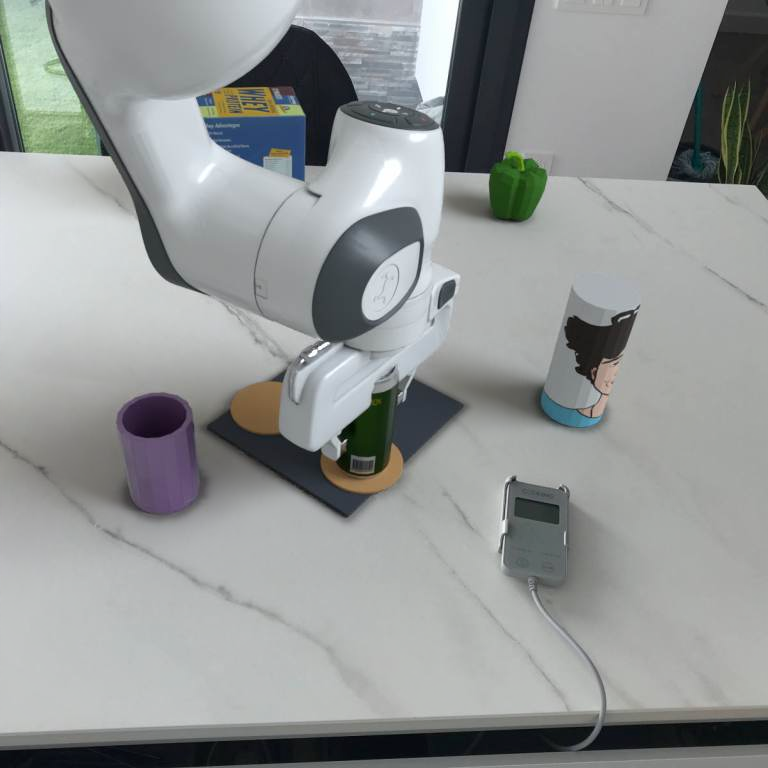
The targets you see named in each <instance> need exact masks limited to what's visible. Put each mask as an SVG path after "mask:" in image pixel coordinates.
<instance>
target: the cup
mask: <svg viewBox="0 0 768 768" xmlns="http://www.w3.org/2000/svg"><path fill="white" fill-rule="evenodd" d="M643 298H644V297H643V293H642V291H641V290H640V288H638V287H637V285H635V283H634V282H631V281H630V280H629V279H626V278H624V277H622V276H619V275H617V274H613V273H609V272H603V271H591V272H586V273H585V272H584V273H581V274H580V275H578V276H577V277H575V278H574V280H573V282H572V284H571V288H570V292H569V295H568V298H567V302H566V306H565V309H564V314H563V317H562V321H561V324H560V328H559V331H558V335H557V339H556V342H555V346H554V350H553V354H552V357H551V361H550V365H549V368H548V371H547V376H546V379H545V381H544V386H543V390H542V393H541V398H540V405H541V408H542V410H543V411H544V414H546V415H547V416H548V417H549V418H550V419H552V420H553V421H555V422H556V423H559V424H561V425H564V426H567V427H572V428H588V427H590V426H594V425H596V424H597V423H598V422H599V421H600V420H601V418H602V416H603V413H604V410H605V407H606V406H607V405H606V404H607V402H608V399H609V396H610V393H611V391H612V387H613V384H614V382H615V379H616V376H617V373H618V370H619V368H620V366H621V365H620V364H621V362H622V359H623V356H624V353H625V350H626V347H627V344H628V343H629V338H630V335H631V334H632V330H633V328H634V324H635V322H636V319H637V316H638V313H639V310H640V307H641V304H642V301H643Z"/></svg>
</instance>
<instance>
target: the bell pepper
mask: <svg viewBox="0 0 768 768" xmlns="http://www.w3.org/2000/svg"><path fill="white" fill-rule="evenodd" d="M504 155H505V158H503V159H502V160H501V162H496V163H494V164H493V166H492V167H491V169H490V170H489V171H490V172H489V178H488V193H489V194H488V195H489V196H488V197H489V205H490V208H491V211H492V213H493V215H494V216H496V217H497V218H499V219H503V220H504V219H505V220H510V219H512V220H515V221H518V222H523V221H526V220H529V219H530V218H531V217H532V216H533V214H534V213H535V211H536V209H537V207H538V205H539V204H540V202H541V199H542V197H543V195H544V193H545V191H546V187H547V183H548V172H547V169H545V168H543V167H539V164H538V163H537V161H535V159H534V158H533V157H530V158H524V157H523V155H522V154H520V152H518V151H514V150H513V151H512V150H509V151H506V152H504Z"/></svg>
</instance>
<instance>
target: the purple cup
mask: <svg viewBox="0 0 768 768" xmlns="http://www.w3.org/2000/svg"><path fill="white" fill-rule="evenodd" d="M115 426H116V427H115V428H116V432H117V436H118V442H119V447H120V452H121V457H122V462H123V466H124V471H125V477H126V482H127V486H128V491H129V495H130V498H131V500H132V502H133V503H134V506H136V507H137V508H138V509H140V510H142V511H144V512H146V513H148V514H153V515H166V514H167V515H169V514H173V513H176V512H179V511H180V510H184V509H185V508H186V507H188V506H190V505H191V504H192V503H193V502H194V501H195V500H196V498H197V497H198V495H199V493H200V490H201V475H200V465H199V456H198V447H197V439H196V438H197V437H196V427H195V420H194V412H193V409H192V407H191V405H190V404H189V402H188V400H186V399H184V398H183V397H182V396H180V395H178V394H173V393H169V392H163V391H161V392H147V393H144V394H142V395H138V396H135V397H134V398H132V399H130V400H128V401H127V402H125V403H124V404H123V405H122V407H121V408H120V409H119V410H118V411H117V414H116V419H115Z"/></svg>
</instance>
